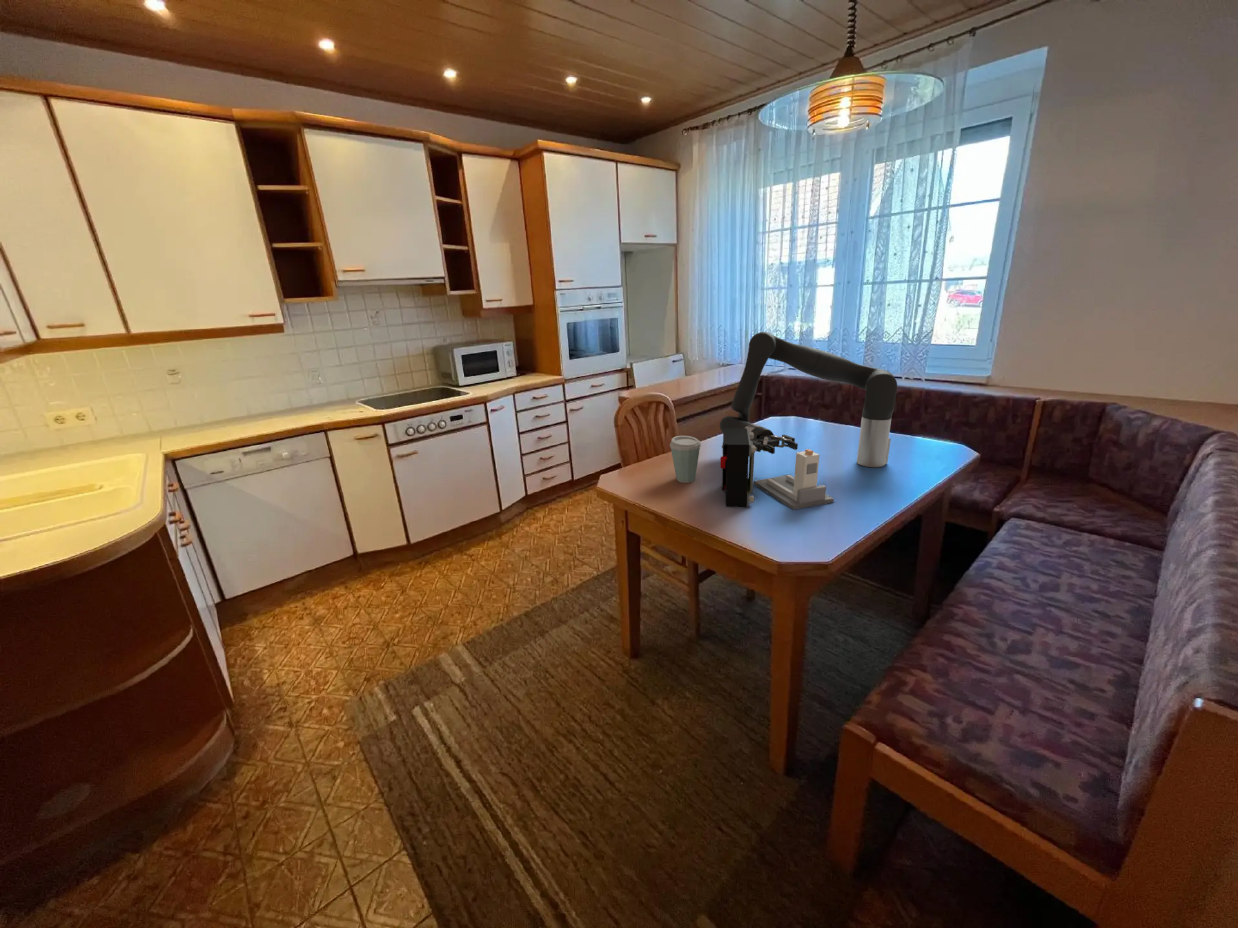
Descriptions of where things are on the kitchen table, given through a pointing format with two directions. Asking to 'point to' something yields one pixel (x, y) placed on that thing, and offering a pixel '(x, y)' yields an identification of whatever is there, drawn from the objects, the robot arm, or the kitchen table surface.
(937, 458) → the kitchen table surface
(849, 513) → the kitchen table surface
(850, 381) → the robot arm
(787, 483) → the panel
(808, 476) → the block
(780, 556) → the kitchen table surface
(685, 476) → the disposable coffee cup
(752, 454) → the electrical component
